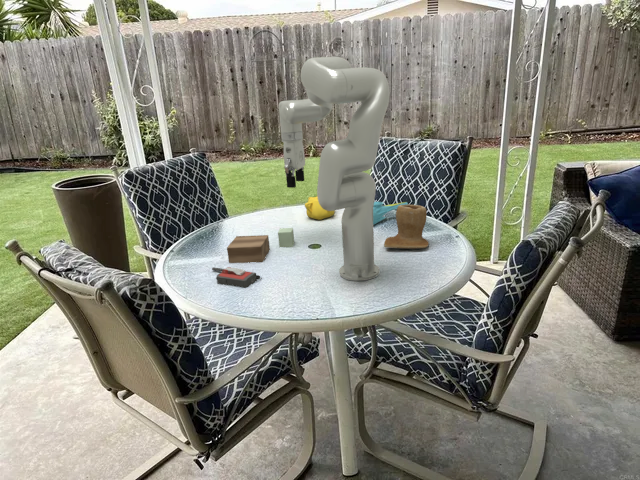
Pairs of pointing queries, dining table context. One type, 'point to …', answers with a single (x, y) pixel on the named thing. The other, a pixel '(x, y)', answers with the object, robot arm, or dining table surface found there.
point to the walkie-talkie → (235, 277)
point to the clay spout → (409, 228)
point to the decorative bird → (383, 210)
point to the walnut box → (248, 249)
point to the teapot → (316, 209)
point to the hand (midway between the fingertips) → (296, 184)
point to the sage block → (286, 237)
